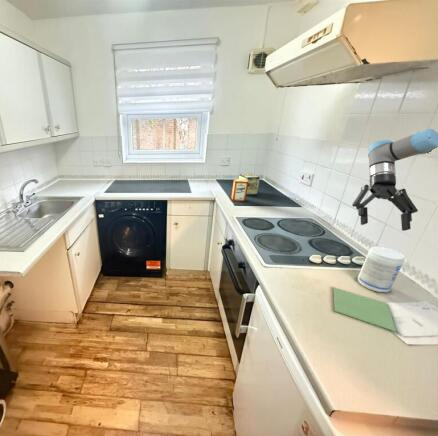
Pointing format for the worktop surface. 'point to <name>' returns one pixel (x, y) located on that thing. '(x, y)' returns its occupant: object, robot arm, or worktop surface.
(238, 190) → the baking soda box
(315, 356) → the worktop surface
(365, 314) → the mat
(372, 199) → the robot arm
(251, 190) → the protein box
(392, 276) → the supplement tub
